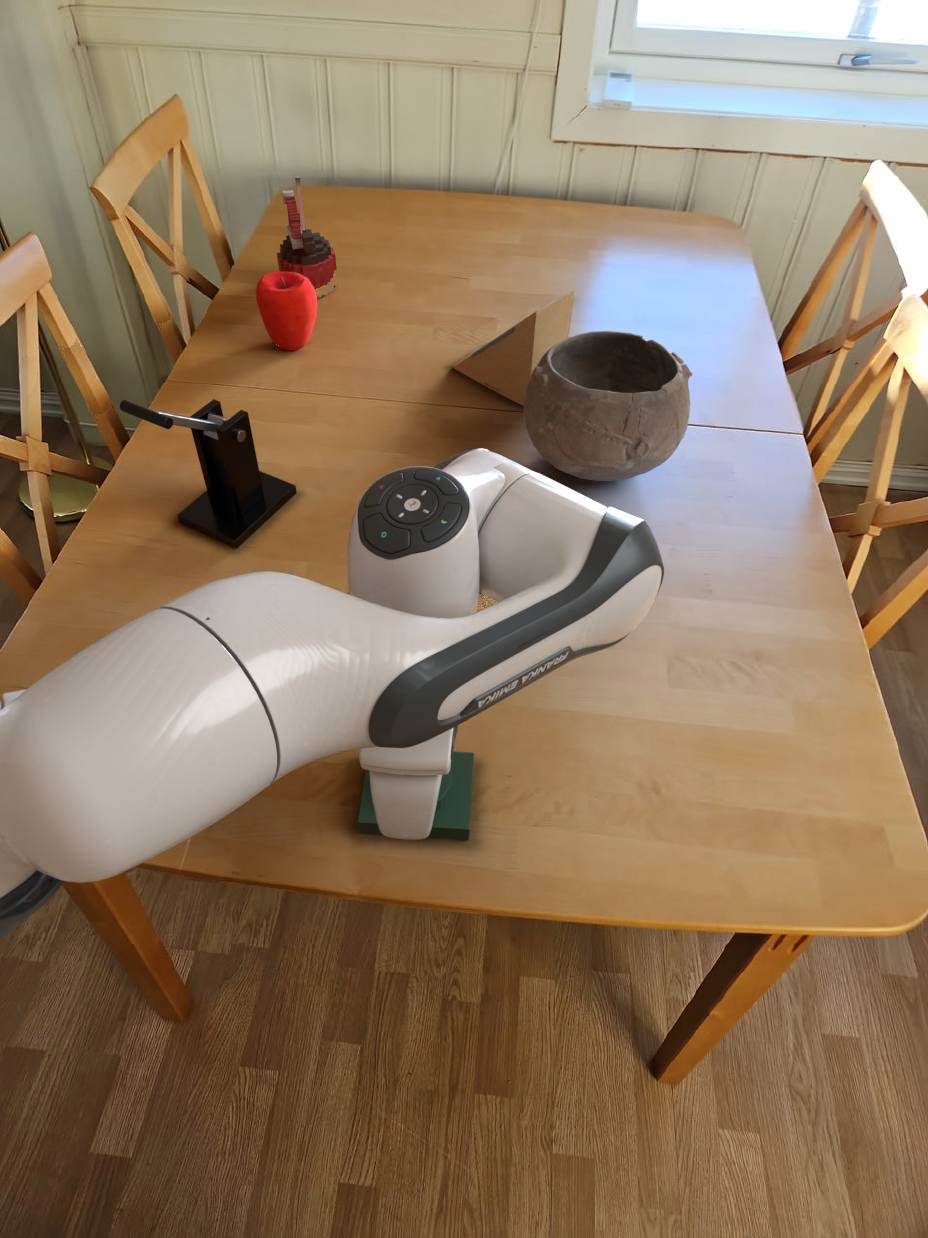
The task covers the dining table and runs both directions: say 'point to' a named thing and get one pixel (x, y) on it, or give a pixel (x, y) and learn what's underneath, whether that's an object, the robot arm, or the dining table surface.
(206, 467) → the bracket
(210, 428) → the lever
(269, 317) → the apple
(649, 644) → the dining table surface
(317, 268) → the cake
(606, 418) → the clay pot
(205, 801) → the robot arm
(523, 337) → the sandwich container
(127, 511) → the dining table surface
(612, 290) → the dining table surface
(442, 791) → the button box
